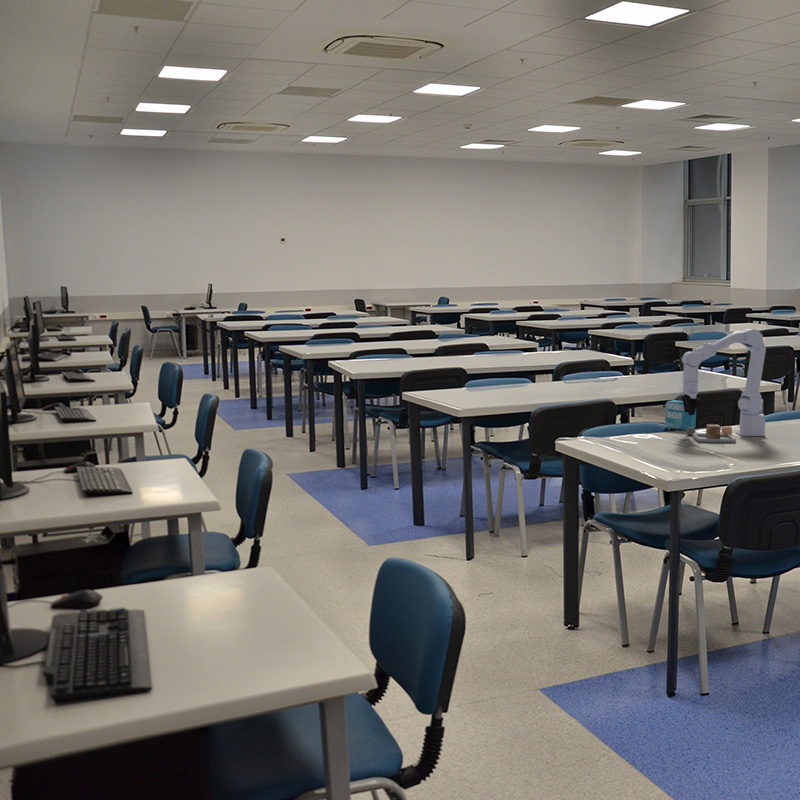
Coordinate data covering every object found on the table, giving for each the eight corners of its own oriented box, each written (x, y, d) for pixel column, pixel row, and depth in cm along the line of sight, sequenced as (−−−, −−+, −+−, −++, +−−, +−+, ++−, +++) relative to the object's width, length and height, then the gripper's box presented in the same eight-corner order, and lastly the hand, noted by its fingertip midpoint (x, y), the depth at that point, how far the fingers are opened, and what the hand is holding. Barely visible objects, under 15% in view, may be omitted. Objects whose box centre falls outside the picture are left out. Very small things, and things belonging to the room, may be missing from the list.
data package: (664, 427, 365) (665, 400, 364) (669, 426, 368) (670, 399, 367) (690, 430, 357) (691, 403, 355) (695, 429, 360) (696, 402, 358)
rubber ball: (693, 434, 347) (694, 426, 347) (695, 436, 344) (695, 427, 343) (685, 434, 348) (685, 426, 347) (686, 435, 344) (686, 427, 344)
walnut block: (717, 438, 336) (718, 424, 335) (720, 440, 331) (720, 426, 331) (705, 437, 337) (706, 424, 336) (708, 439, 332) (708, 426, 331)
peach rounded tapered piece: (730, 435, 343) (730, 426, 343) (732, 437, 340) (733, 427, 339) (720, 435, 344) (720, 426, 344) (722, 437, 340) (722, 427, 340)
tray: (728, 437, 339) (728, 434, 339) (735, 443, 327) (735, 439, 327) (692, 437, 341) (692, 433, 341) (698, 442, 329) (698, 438, 329)
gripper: (677, 379, 349) (676, 410, 350) (683, 382, 334) (682, 416, 336) (694, 379, 348) (693, 411, 349) (702, 382, 333) (700, 416, 335)
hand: (689, 413), depth 343 cm, fingers open, 7 cm apart
